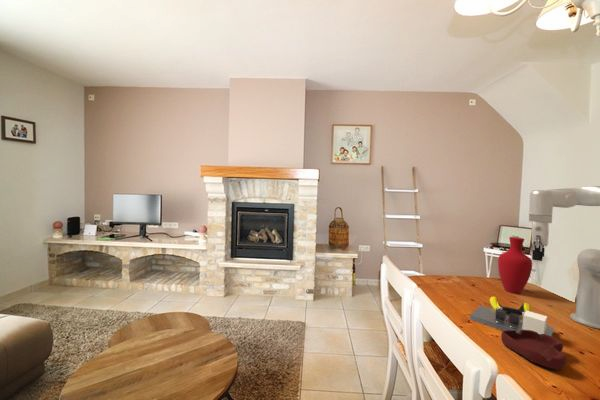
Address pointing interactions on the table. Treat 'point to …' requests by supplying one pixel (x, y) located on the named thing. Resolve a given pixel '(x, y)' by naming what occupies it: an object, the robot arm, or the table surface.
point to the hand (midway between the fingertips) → (538, 258)
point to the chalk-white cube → (534, 322)
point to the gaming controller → (520, 311)
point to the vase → (514, 267)
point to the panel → (504, 326)
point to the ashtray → (536, 347)
